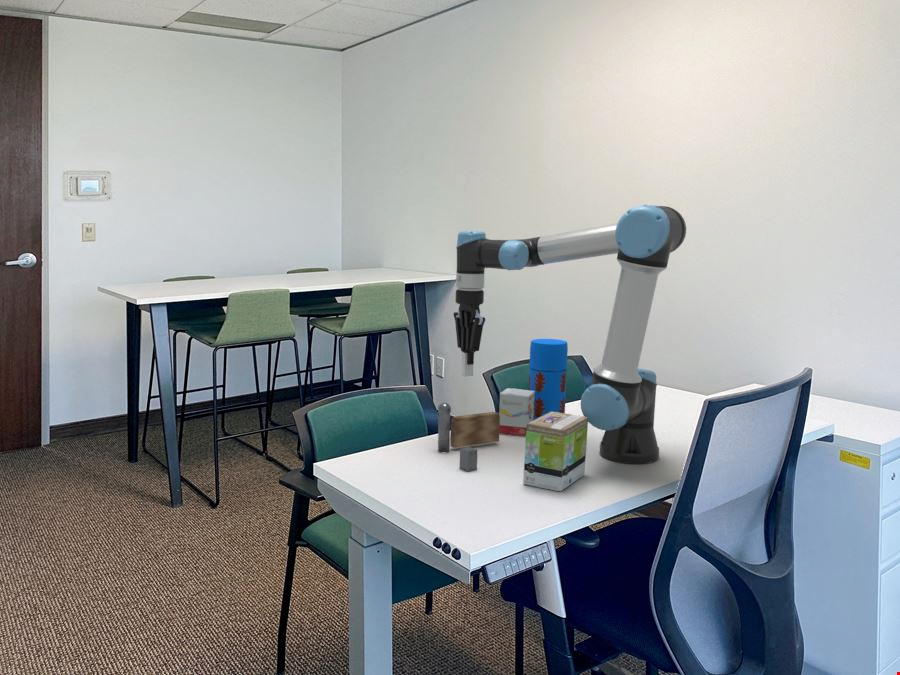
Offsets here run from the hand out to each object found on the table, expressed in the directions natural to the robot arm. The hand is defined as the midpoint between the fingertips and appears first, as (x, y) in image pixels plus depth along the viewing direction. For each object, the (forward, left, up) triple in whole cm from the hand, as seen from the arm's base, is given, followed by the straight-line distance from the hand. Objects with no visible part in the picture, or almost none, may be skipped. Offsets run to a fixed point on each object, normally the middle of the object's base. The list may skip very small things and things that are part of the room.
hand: (467, 375), depth 221 cm
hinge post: (-5, +12, -18) cm, 22 cm away
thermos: (-2, -29, -18) cm, 34 cm away
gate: (-7, +3, -17) cm, 19 cm away
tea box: (-38, +5, -18) cm, 43 cm away
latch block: (-20, +16, -18) cm, 31 cm away
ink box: (-2, -17, -18) cm, 25 cm away
